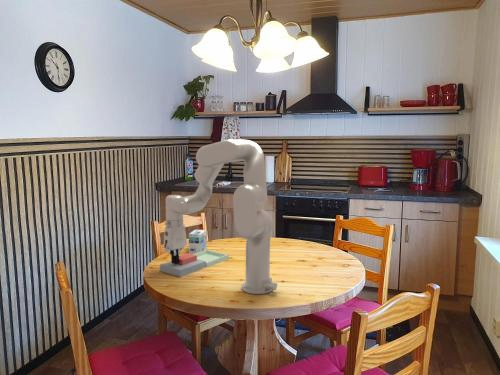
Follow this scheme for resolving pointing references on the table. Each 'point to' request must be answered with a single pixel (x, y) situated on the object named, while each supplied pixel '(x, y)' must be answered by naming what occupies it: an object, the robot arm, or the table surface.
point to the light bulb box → (197, 241)
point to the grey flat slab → (182, 268)
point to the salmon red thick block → (187, 259)
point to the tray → (211, 257)
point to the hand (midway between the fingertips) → (175, 263)
